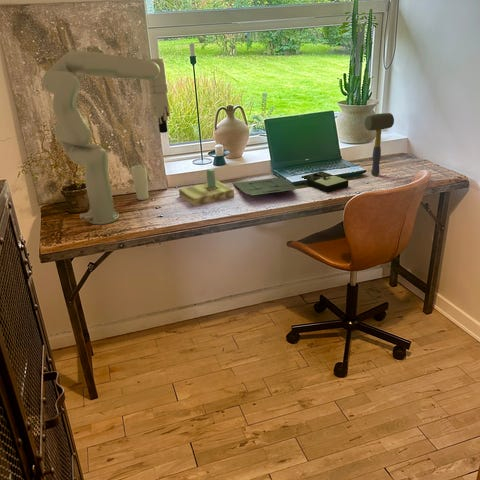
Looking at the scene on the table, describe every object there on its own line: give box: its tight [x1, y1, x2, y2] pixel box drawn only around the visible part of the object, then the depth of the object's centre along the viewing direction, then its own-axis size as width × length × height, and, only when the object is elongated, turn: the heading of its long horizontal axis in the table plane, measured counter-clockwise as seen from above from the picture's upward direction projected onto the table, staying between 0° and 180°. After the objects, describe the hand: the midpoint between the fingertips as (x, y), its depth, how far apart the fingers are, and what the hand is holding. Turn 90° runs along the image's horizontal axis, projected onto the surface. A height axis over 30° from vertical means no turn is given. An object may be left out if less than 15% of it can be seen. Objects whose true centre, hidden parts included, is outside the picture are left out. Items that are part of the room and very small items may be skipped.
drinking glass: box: [130, 164, 150, 201], centre depth 217 cm, size 7×7×15 cm
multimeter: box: [300, 170, 349, 194], centre depth 225 cm, size 13×19×5 cm
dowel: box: [206, 168, 216, 190], centre depth 218 cm, size 4×4×12 cm
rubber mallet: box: [364, 112, 395, 177], centre depth 229 cm, size 12×8×30 cm, turn 108°
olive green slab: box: [178, 180, 235, 207], centre depth 218 cm, size 20×16×4 cm
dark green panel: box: [233, 176, 297, 196], centre depth 223 cm, size 24×30×4 cm
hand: (163, 132), depth 212 cm, fingers closed
